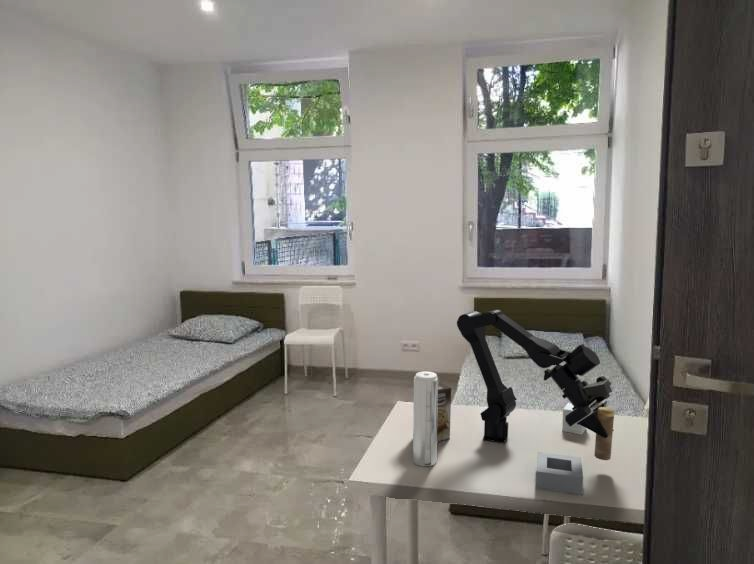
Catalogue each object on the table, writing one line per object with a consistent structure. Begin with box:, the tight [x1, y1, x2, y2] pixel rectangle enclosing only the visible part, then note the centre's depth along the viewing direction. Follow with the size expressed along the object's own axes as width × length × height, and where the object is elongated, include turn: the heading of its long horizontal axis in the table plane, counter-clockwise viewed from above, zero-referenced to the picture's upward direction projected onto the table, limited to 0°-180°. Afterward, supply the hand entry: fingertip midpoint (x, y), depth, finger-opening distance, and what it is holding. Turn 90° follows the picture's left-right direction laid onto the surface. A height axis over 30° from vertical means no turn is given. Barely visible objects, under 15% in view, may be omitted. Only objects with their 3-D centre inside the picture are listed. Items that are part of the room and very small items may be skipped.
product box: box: [561, 402, 587, 436], centre depth 172 cm, size 6×6×7 cm
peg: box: [594, 406, 616, 461], centre depth 146 cm, size 4×4×13 cm
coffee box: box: [437, 381, 452, 442], centre depth 166 cm, size 9×6×16 cm
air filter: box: [412, 371, 439, 467], centre depth 151 cm, size 6×6×25 cm
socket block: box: [535, 451, 584, 496], centre depth 142 cm, size 11×11×4 cm
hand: (609, 434), depth 145 cm, fingers closed on peg, 4 cm apart
